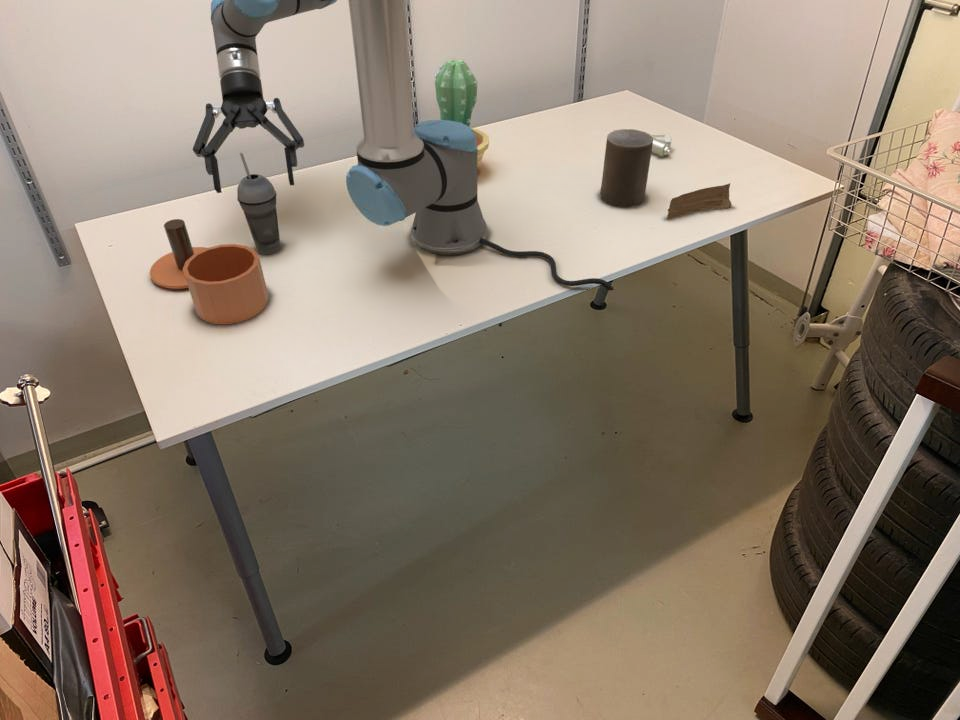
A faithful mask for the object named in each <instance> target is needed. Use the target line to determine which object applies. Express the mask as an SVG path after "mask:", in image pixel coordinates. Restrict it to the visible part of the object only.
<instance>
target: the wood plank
mask: <svg viewBox="0 0 960 720" xmlns="http://www.w3.org/2000/svg"><path fill="white" fill-rule="evenodd" d="M730 188H731V183H727V184H723V185H716V186H711V187H705V188H700V189H697V190H694V191H690V192H686V193H683V194H680V195H678V196H676V197H673V198H671V200H670V203H669V207H668V208H667V216H666V219H667V220H668V219H672V218H677V217H681V216H684V215H688V214H692V213H696V212H704V211H711V210H723V209H729V208H732V201H731V200H730Z"/></svg>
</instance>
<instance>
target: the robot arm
mask: <svg viewBox="0 0 960 720" xmlns="http://www.w3.org/2000/svg"><path fill="white" fill-rule="evenodd" d="M337 1H338V0H211V2H210V21H211V22H210V23H211V26H212V32H213V39H214V45H215V53H216V60H217V61H216V62H217V69H218V77H219V79H220V81H219V84H220V90H221V100H222V103H221V105H212V104H211V103H210V102H209V103H206V104H205V116H204V117H203V121H202V124H201V126H200V128H199V131H198V134H197V136H196V139H195V141H194V144H193V147H192V151H193V153H194V155H195V156H196V157H197V158H203V159H204V166H205V171H206V173H207V174H208V176H212V181H213V189H214V191H215V193H216V194H221V193H222V187H221V178H220V170H219V164H218V163H219V162H218V159H217V156H216V153H217V152H218V151H219V149H220V148H221V147H222V145H223V144H224V143H225V141H226V140H227V138H228V137H229V136H230V134H231V133H233V132H234V130H235V129H236V128H238V129H239V130H241V129H243V130H244V129H246V128H251V129H254V128H255V129H256V128H257V126H261V127H262V128H263V129H264V130H266V131H267V132H268V133H269V134H271V135H272V137H274V138H275V139H276V140H277V141H278V142H280V143H281V144H282V145H283V146H284V156H285V163H286V169H287V170H286V171H287V176H288V182H289V183H288V184H289V186H295V179H294V171H293V168H296V167H298V158H297V150H298V149H300V148H301V149H302V148H304V147H305V140H304V138H303V136H302V135H301V134H300V132H299V130H298V129H297V128H296V126H295V125H294V124H293V122H292V121H291V119H290V118H289V116H288V115H287V113H286V112H285V111H284V109H283V106H282V103H281V99H280V98H279V97H274V98H273V100H272V101H265V99H264V92H263V86H262V79H261V71H260V64H259V56H258V50H257V41H256V38H257V36H258V35H259V33H261V31H262V29H263V28H264V26H265V25H266V24H268V23H270V22H274V21H279V20H283V19H285V18H289V17H292V16H297V15H300V14H303V13H307V12H311V11H315V10H322V9H325V8H327V7H329V6H331V5H334V4H335V3H336V2H337ZM406 1H407V0H348V8H349V9H348V10H349V17H350V18H349V19H350V26H351V27H350V28H351V35H352V36H351V37H352V44H353V53H354V62H355V71H356V80H357V88H358V98H359V106H360V115H361V124H362V132H363V133H362V134H363V137H362V138H360V140H359V141H358V142H357V144H356V147H355V149H356V159H357V164H356V165H352V166H351V167H350V169H349V170H348V172H347V173H346V175H345V184H346V188H347V189H346V190H347V192H348V195H349V197H350V199H351V201H352V203H353V204H354V206H355V207H356V208H357V210H358V211H359V212H360V213H361V215H362V216H363V217H364V218H366V219H367V220H368V221H370V222H371V223H373V224H375V225H377V226H381V227H388V226H392V225H394V224H396V223H399V222H403V221H405V220H406V219H407V218H408V217H410V216H412V215H414V218H413V220H412V225H411V240H412V242H413V243H414V245H415V246H416V247H417V248H419V249H420V250H422V251H424V252H427V253H429V254H433V255H437V256H438V255H440V256H457V255H462V254H463V255H464V254H466V253H470V252H472V251H474V250H476V249H478V248H480V247H481V246H482V245H485V246H486V247H489V248H491V249H494V250H495V251H497V252H499V253H500V254H503V255H507V256H509V257H539V258H542V259H545V260H547V261H548V262H549V264H550V265H549V266H550V273H551V276H552V278H553V280H554V281H556V283H557V284H559V285H562V286H566V287H578V286H584V285H591V284H597V285H600V286H603V287H604V288H605V289H606V290H608V291H614V287H613V286H612V285H611V284H610V282H608V281H606V280H604V279H601V278H597V277H594V278H593V277H592V278H584V279H577V280H567V279H563V278H561V277H560V276H559V275H558V272H557V265H556V261H555V259H554V257H552V256H551V255H550V254H548V253H546V252H542V251H538V250H525V251H524V250H523V251H519V250H518V251H517V250H510V249H507V248H505V247H502V246H501V245H499V244H497V243H495V242H492V241H490V240H487V237H488V227H487V222H486V220H485V219H484V216H483V212H482V209H481V205H480V204H479V201H478V200H479V199H478V166H477V152H478V148H477V141H476V135H475V132H474V131H473V129H471V128H472V127H471V126H470V127H469V126H467V125H465V124H462V123H459V122H454V121H448V120H440V119H431V120H424V121H421V122H419V123H416V124H415V123H414V111H413V110H414V108H413V95H412V77H411V64H410V63H411V62H410V61H411V60H410V49H409V48H410V47H409V46H410V45H409V34H408V33H409V32H408V18H407V17H408V16H407V3H406ZM268 110H270V111H271V112H272V113H273V114H276V115H277V118H278V120H280V122H281V124H282V125H283V126H284V127H285V129H286V131H287V132H288V133H289V135H290V136H291V137H292V139H293V140H292V139H291V138H290V137H288V136H287V135H286V134H285V133H284V132H283V131H282V130H281V129H280V128H278V126H276V125H275V124H274V123H273V122H272V121H271V120H270V119H269V118H268V117H267V116H266V114H267V112H268ZM220 114H222V115H223V116H224V119H223V121H222V122H221V125H220V126H219V128H218V129H217V131H216V132H215V133H214V135H213V136H212V137H211V139H210V136H211V135H212V131H213V129H214V126H215V122H216V119H218V118H219V116H220ZM209 139H210V140H209ZM208 141H209V142H208Z"/></svg>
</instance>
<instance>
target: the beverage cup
mask: <svg viewBox="0 0 960 720" xmlns="http://www.w3.org/2000/svg"><path fill="white" fill-rule="evenodd" d="M243 153H244V152H240V153H239V155H240V158H241V162H242V164H243V167H244V170H245V174H246V176H245V177H243V178H242V179H241V180H240V181H239V183H238V185H237V190H236V192H237V197H236V199H237V202H238V203H239V206H240V208H241V210H242V211H243V215H244V216H245V220H246V222H247V226H248V229H249V231H250V234H251V237H252V240H253V243H254V245H255V247H256V250H257V253H259V254H262V255H272V254H275V253H277V252H278V251H280V249H281V239H280V230H279V229H280V228H279V221H278V212H277V191H276V190H275V187H274V185H273V183H272V182H271V181H270V180H269V179H268V178H267V177H265V176H264V175H261V174H258V173H257V174H256V173H252V174H251V173H250V171H249V170H250V169H249V167H248V165H247V162H246V159H245V155H244V154H243Z"/></svg>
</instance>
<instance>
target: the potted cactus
mask: <svg viewBox="0 0 960 720" xmlns="http://www.w3.org/2000/svg"><path fill="white" fill-rule="evenodd" d="M438 68H439V70H438V71H436V73H435V75H434V76H433V78H434V79H435V80H434V87H435V97H436V98H435V99H436V102H437V105H438V108H439V111H440V119H439V120H448V121H454V122H459V123H462V124H465V125H467V126H469V127H470V128H471V129H473V131H474V132H475V135H476V141H477V148H478V152H477V167H478V166H479V164H480V163H481V162H482V160H483V157H484V154H485V152H486V151H487V150H488V149H489V147H490V146H489V145H490V137H489V134H487V133H486V132H485V131H483V130H481V129H479V128H475V127H471V120H472V112H473V111H474V109H475V105H476V103H477V100H478V99H477V95H478V80H477V79H476V77H475V75H474V73H473V71H472V70H471V68H470V67H469V65H468V63H467V62H466V61H464V59H459V60H456V59H455V58H451V60H449V61H448V60H446V61H445V63H444V64H441V65H440V66H439V67H438Z"/></svg>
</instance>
